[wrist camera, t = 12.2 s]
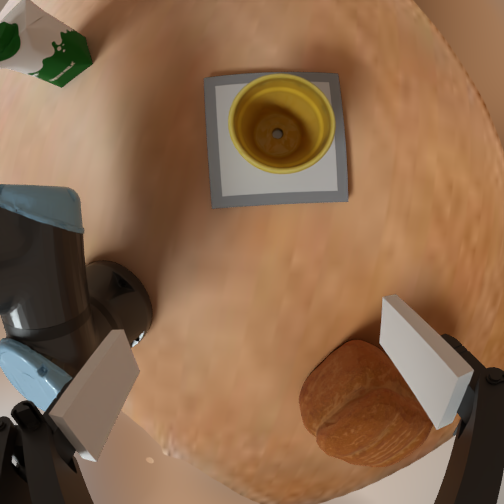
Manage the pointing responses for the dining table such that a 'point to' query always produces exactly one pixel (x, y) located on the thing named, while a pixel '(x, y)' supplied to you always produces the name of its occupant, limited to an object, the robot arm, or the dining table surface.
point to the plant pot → (281, 123)
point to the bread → (363, 407)
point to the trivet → (253, 179)
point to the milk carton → (41, 45)
